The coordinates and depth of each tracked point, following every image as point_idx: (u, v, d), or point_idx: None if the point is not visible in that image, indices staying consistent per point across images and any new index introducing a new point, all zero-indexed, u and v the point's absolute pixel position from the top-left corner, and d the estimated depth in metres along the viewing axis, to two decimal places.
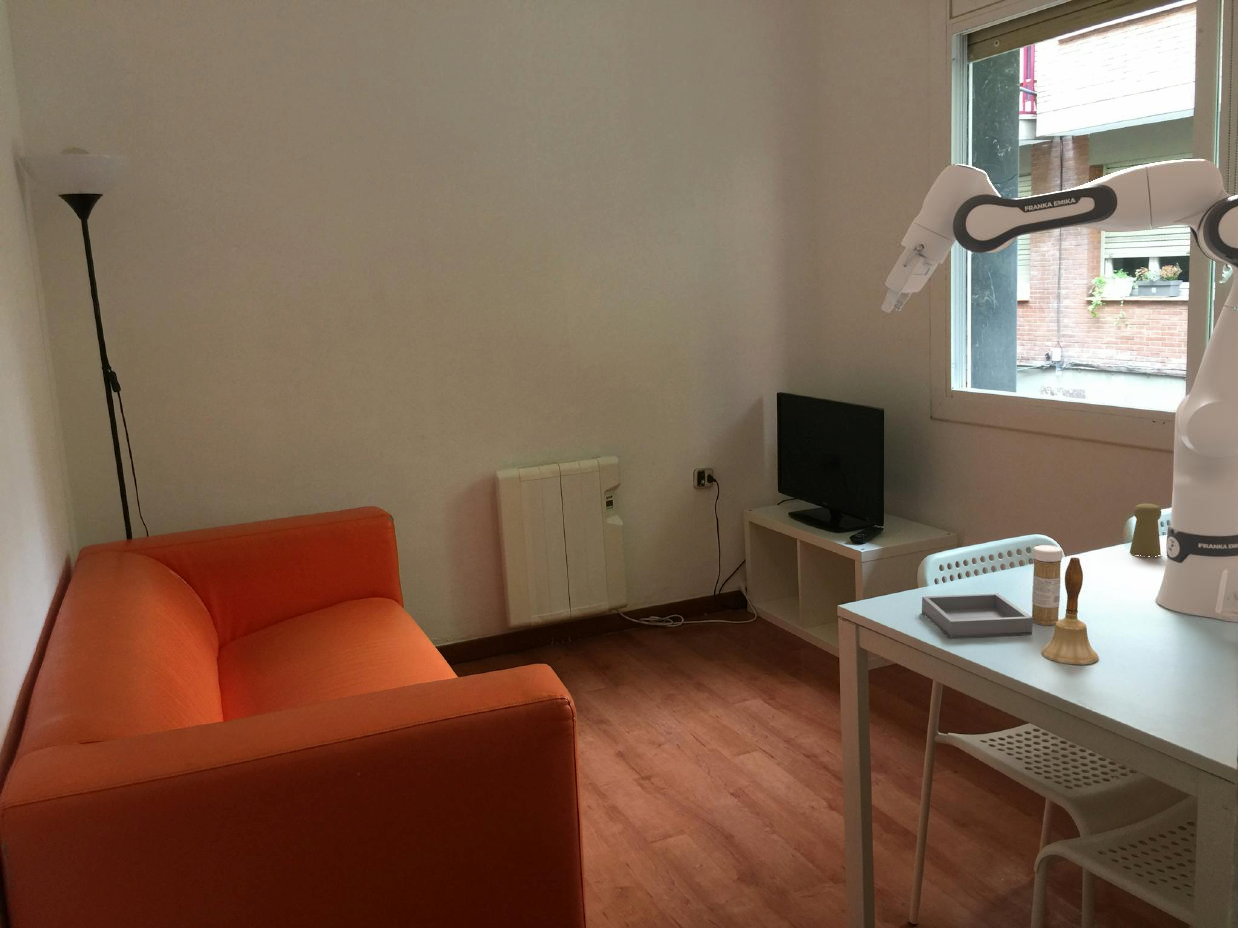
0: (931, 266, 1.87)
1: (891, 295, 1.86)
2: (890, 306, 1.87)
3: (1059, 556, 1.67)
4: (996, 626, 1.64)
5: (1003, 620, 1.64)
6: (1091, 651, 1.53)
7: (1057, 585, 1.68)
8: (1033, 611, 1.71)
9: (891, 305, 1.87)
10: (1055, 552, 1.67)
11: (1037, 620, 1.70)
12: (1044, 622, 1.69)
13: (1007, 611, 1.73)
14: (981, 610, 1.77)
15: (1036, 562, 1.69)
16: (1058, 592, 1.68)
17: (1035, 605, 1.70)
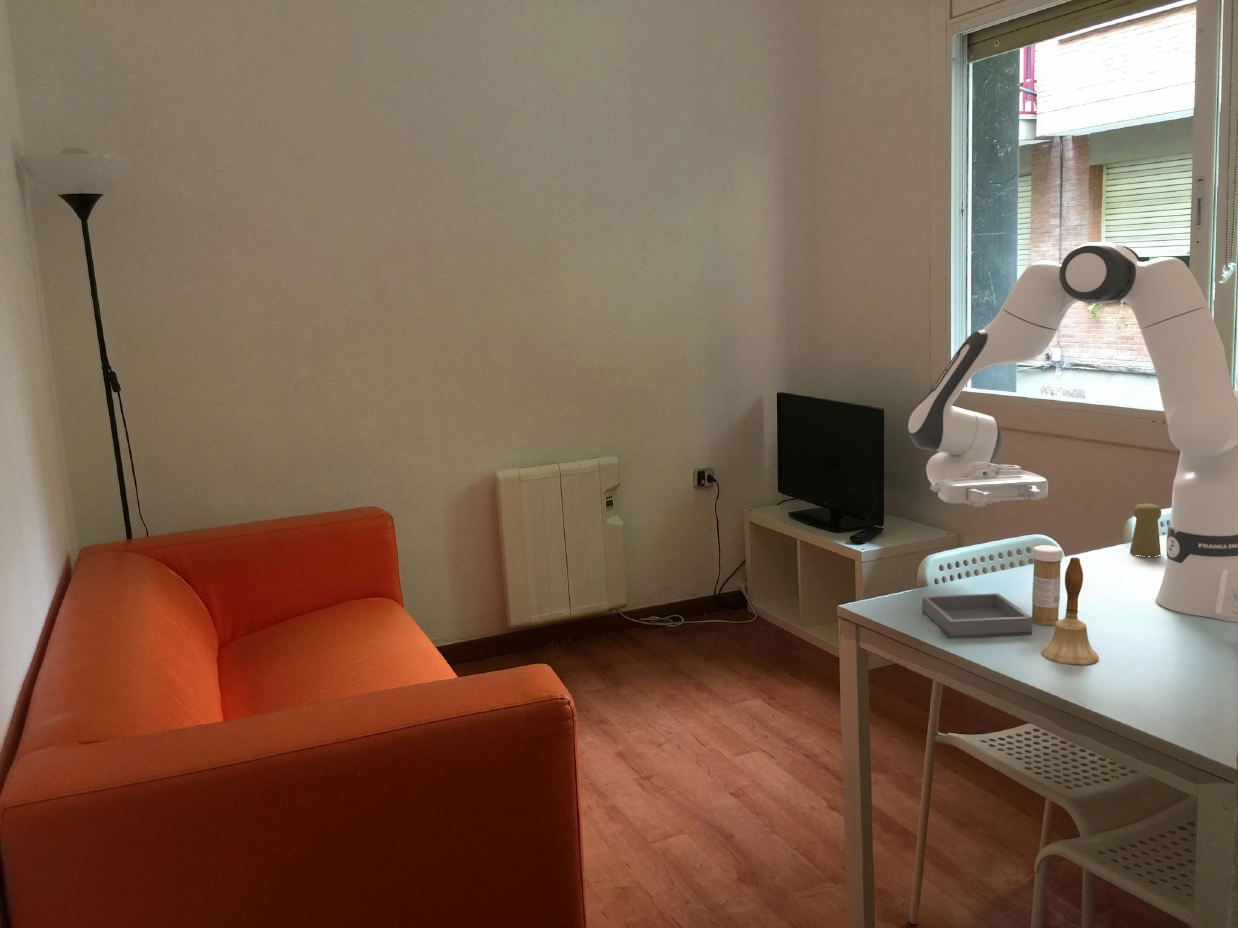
0: (980, 471, 1.90)
1: (971, 495, 1.82)
2: (981, 494, 1.80)
3: (1059, 556, 1.67)
4: (996, 626, 1.64)
5: (1003, 620, 1.64)
6: (1091, 651, 1.53)
7: (1057, 585, 1.68)
8: (1033, 611, 1.71)
9: (980, 493, 1.80)
10: (1055, 552, 1.67)
11: (1037, 620, 1.70)
12: (1044, 622, 1.69)
13: (1007, 611, 1.73)
14: (981, 610, 1.77)
15: (1036, 562, 1.69)
16: (1058, 592, 1.68)
17: (1035, 605, 1.70)
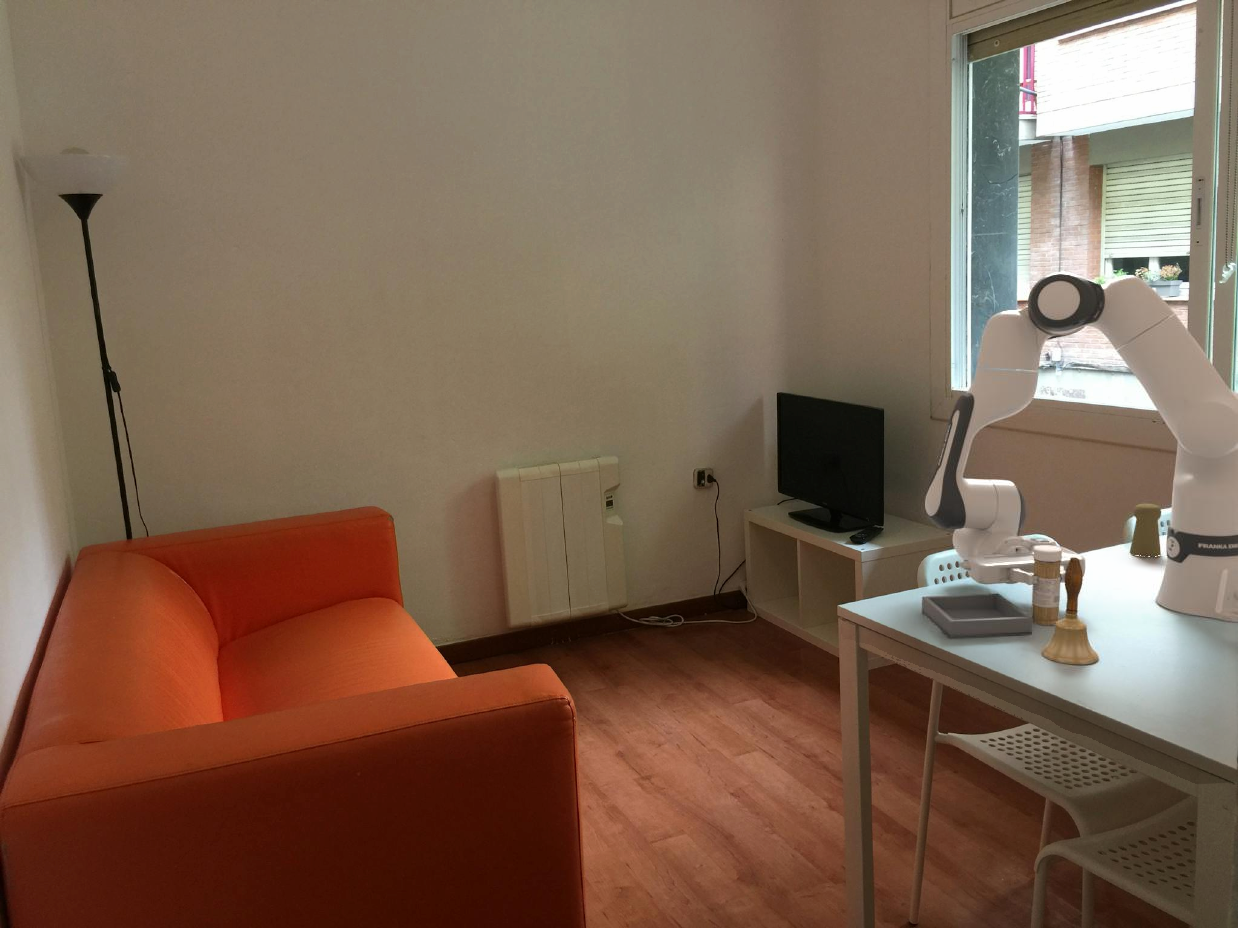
0: (1012, 547, 1.79)
1: (1014, 576, 1.72)
2: (1025, 575, 1.70)
3: (1059, 556, 1.67)
4: (996, 626, 1.64)
5: (1003, 620, 1.64)
6: (1091, 651, 1.53)
7: (1057, 585, 1.68)
8: (1033, 611, 1.71)
9: (1025, 574, 1.70)
10: (1055, 552, 1.67)
11: (1037, 620, 1.70)
12: (1044, 622, 1.69)
13: (1007, 611, 1.73)
14: (981, 610, 1.77)
15: (1036, 562, 1.69)
16: (1058, 592, 1.68)
17: (1035, 605, 1.70)
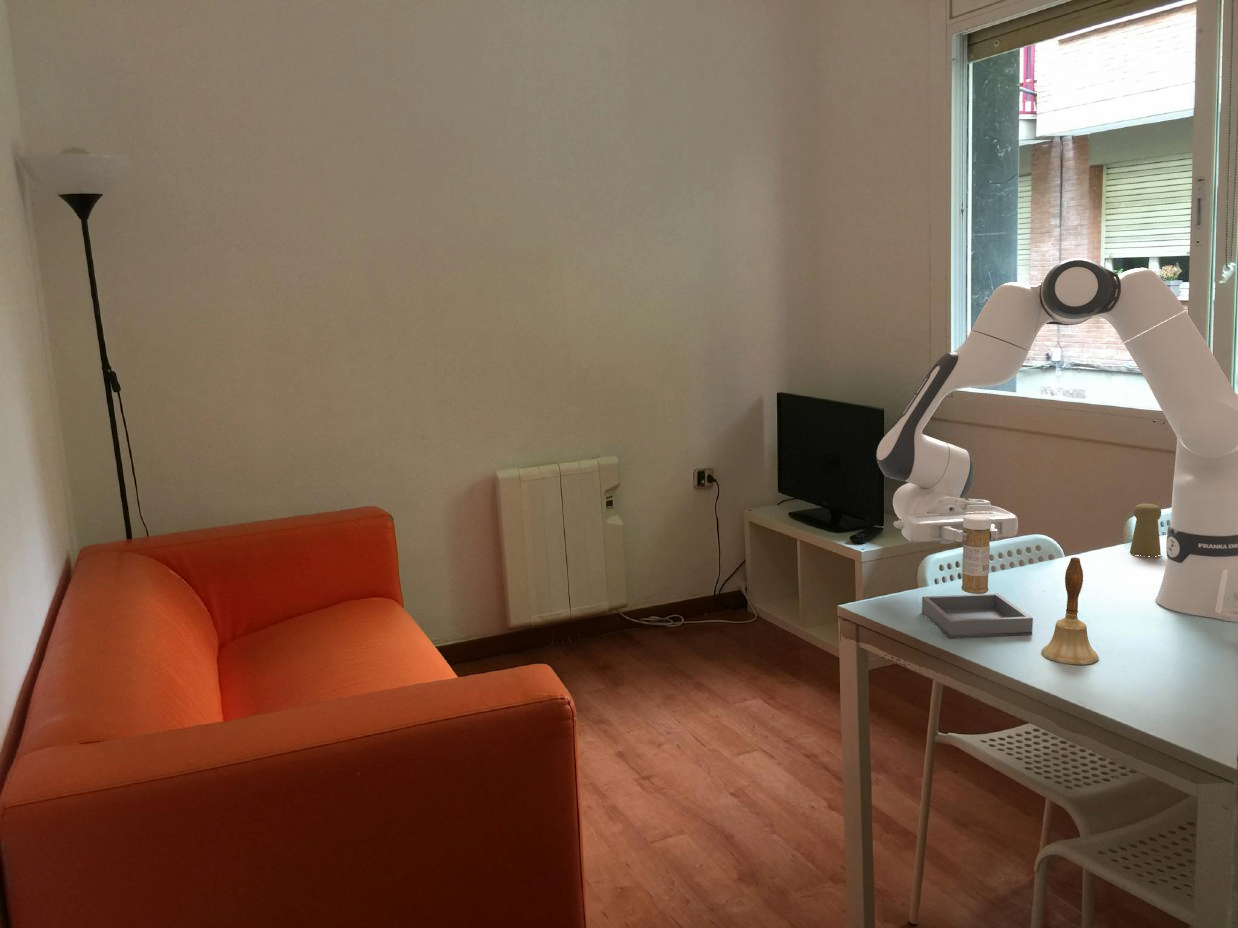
0: (946, 506, 1.78)
1: (945, 534, 1.71)
2: (956, 532, 1.69)
3: (988, 525, 1.67)
4: (996, 626, 1.64)
5: (1003, 620, 1.64)
6: (1091, 651, 1.53)
7: (986, 554, 1.68)
8: (963, 580, 1.71)
9: (955, 531, 1.69)
10: (983, 520, 1.66)
11: (966, 589, 1.70)
12: (973, 591, 1.69)
13: (1007, 611, 1.73)
14: (981, 610, 1.77)
15: (965, 530, 1.69)
16: (987, 561, 1.68)
17: (964, 573, 1.70)
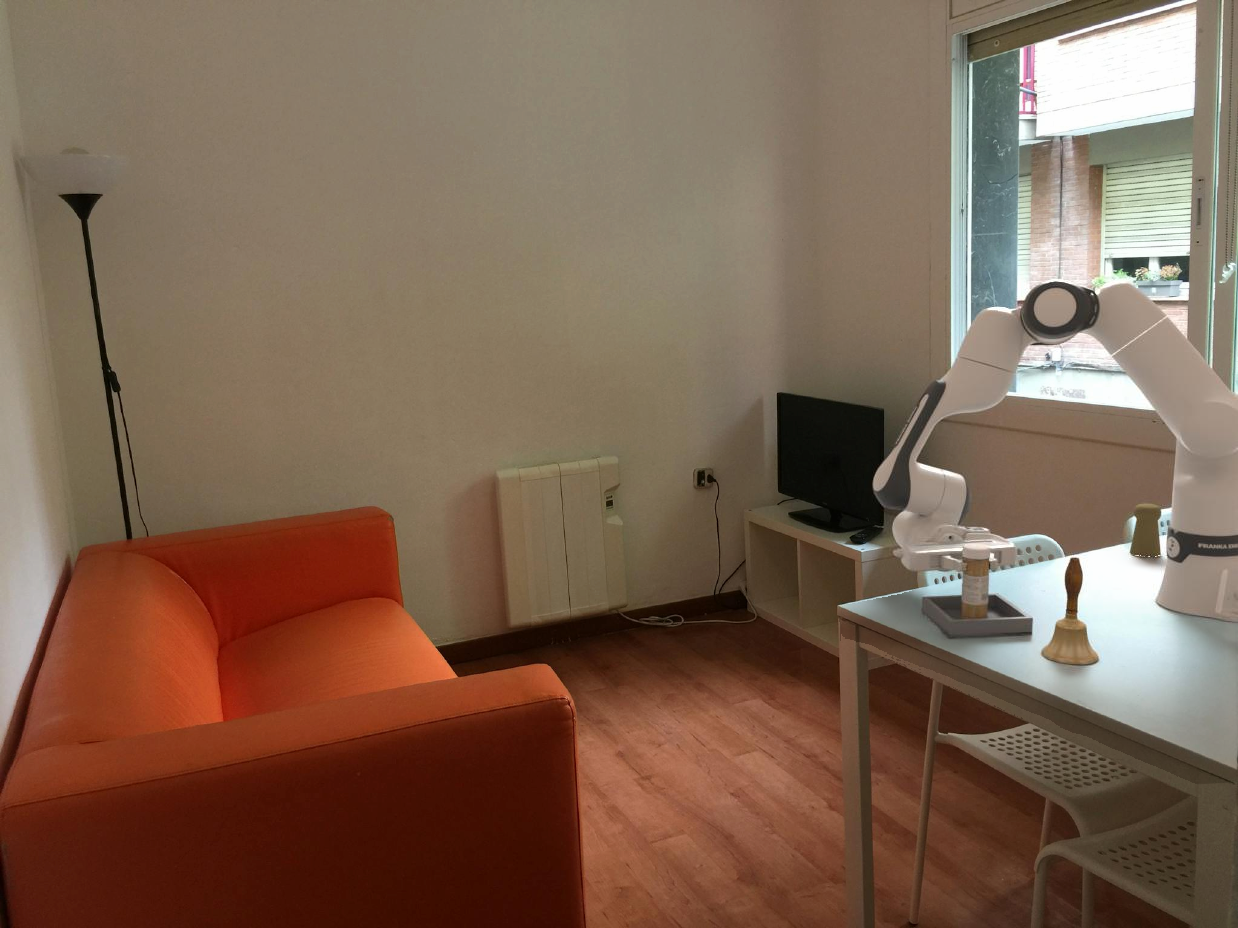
0: (945, 535, 1.79)
1: (945, 563, 1.72)
2: (955, 562, 1.70)
3: (987, 554, 1.68)
4: (996, 626, 1.64)
5: (1003, 620, 1.64)
6: (1091, 651, 1.53)
7: (985, 583, 1.69)
8: (962, 608, 1.71)
9: (954, 561, 1.70)
10: (982, 550, 1.67)
11: (966, 617, 1.70)
12: None
13: (1007, 611, 1.73)
14: None
15: (964, 560, 1.69)
16: (986, 590, 1.69)
17: (964, 602, 1.70)
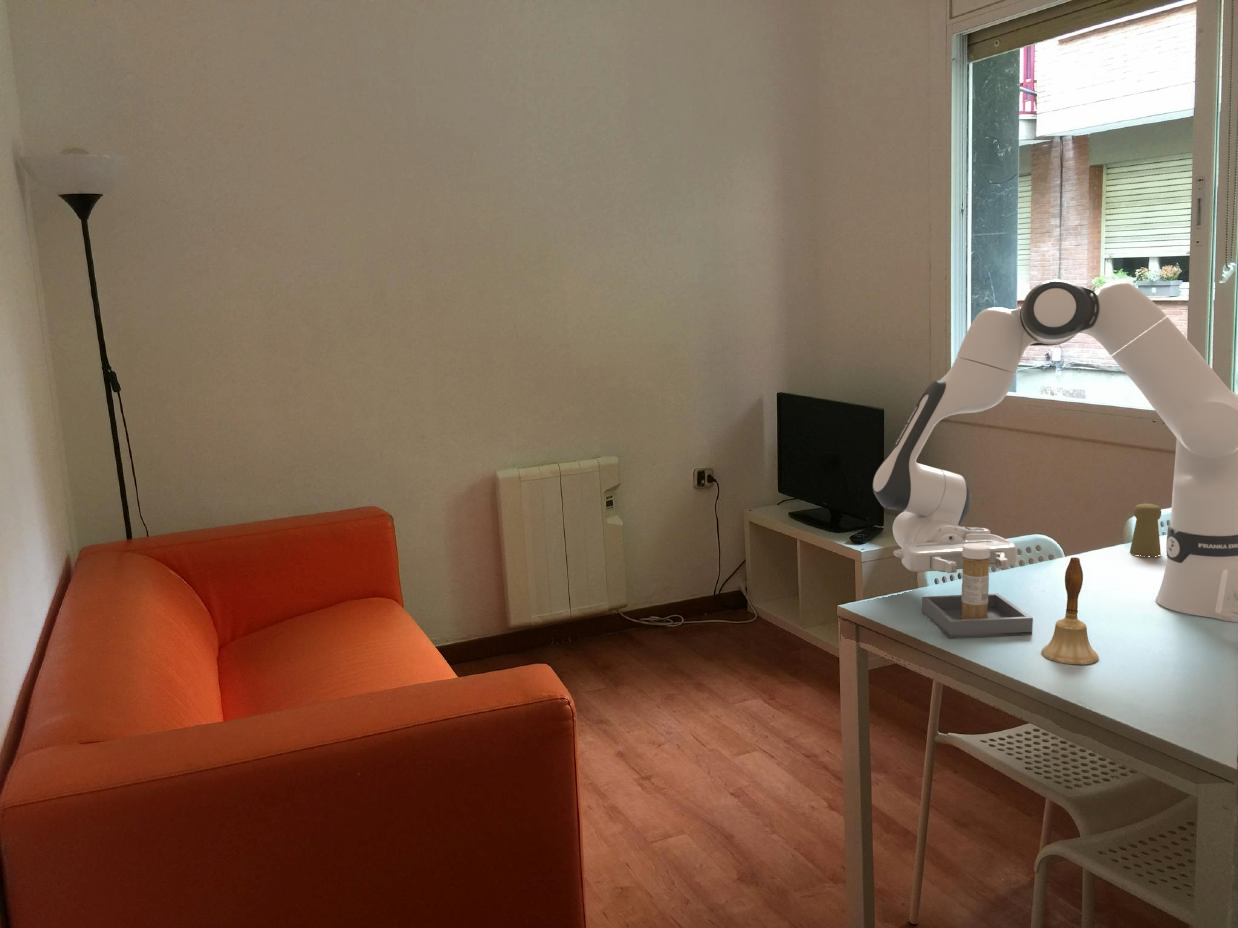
0: (946, 535, 1.79)
1: (935, 564, 1.72)
2: (945, 563, 1.70)
3: (987, 554, 1.68)
4: (996, 626, 1.64)
5: (1003, 620, 1.64)
6: (1091, 651, 1.53)
7: (985, 583, 1.69)
8: (962, 608, 1.71)
9: (944, 562, 1.70)
10: (982, 550, 1.67)
11: (966, 617, 1.70)
12: None
13: (1007, 611, 1.73)
14: None
15: (964, 560, 1.69)
16: (986, 590, 1.69)
17: (964, 602, 1.71)
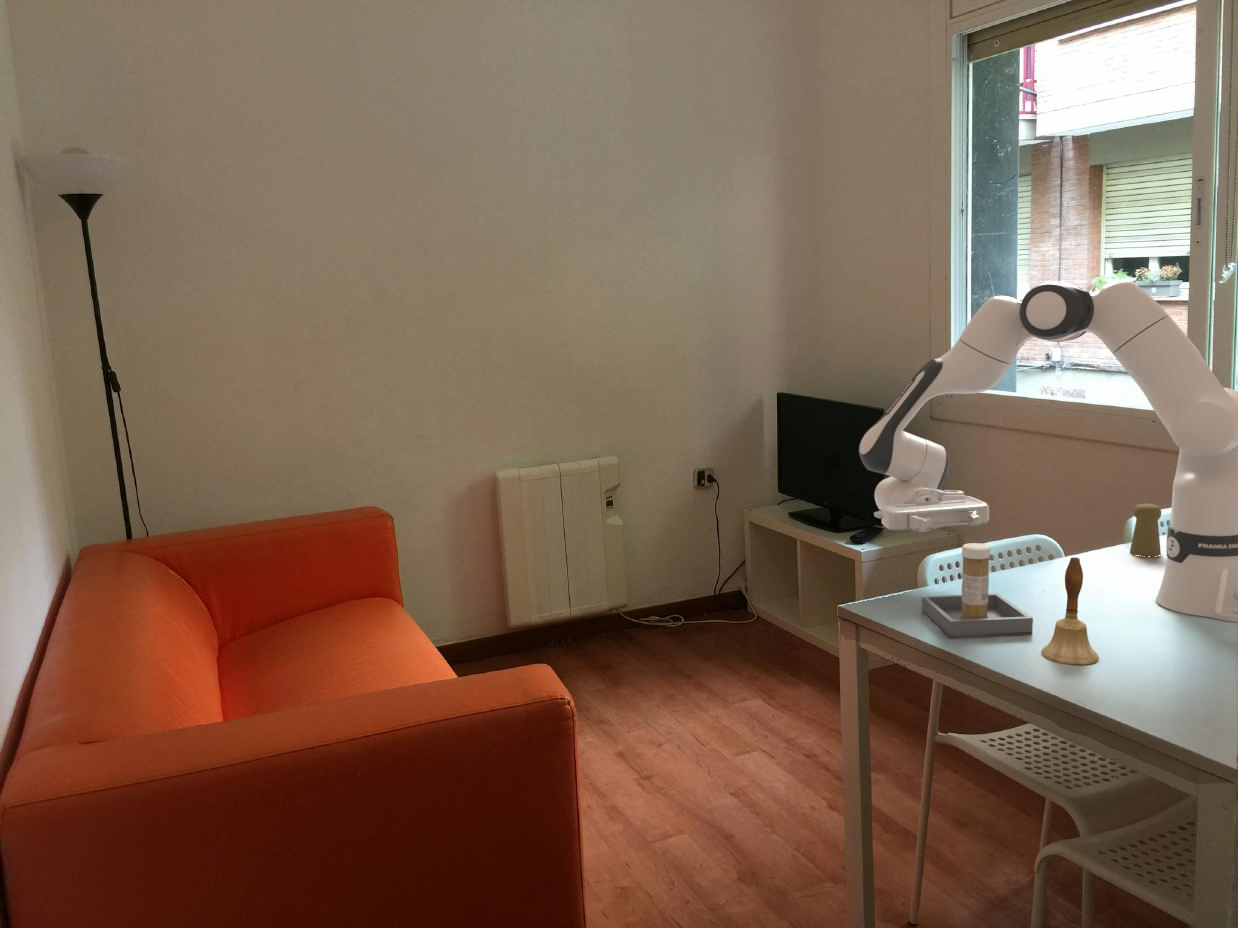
0: (922, 497, 1.92)
1: (912, 522, 1.84)
2: (921, 520, 1.82)
3: (987, 554, 1.68)
4: (996, 626, 1.64)
5: (1003, 620, 1.64)
6: (1091, 651, 1.53)
7: (985, 583, 1.69)
8: (962, 608, 1.71)
9: (920, 520, 1.82)
10: (982, 550, 1.67)
11: (966, 617, 1.70)
12: None
13: (1007, 611, 1.73)
14: None
15: (964, 560, 1.69)
16: (986, 590, 1.69)
17: (964, 602, 1.71)
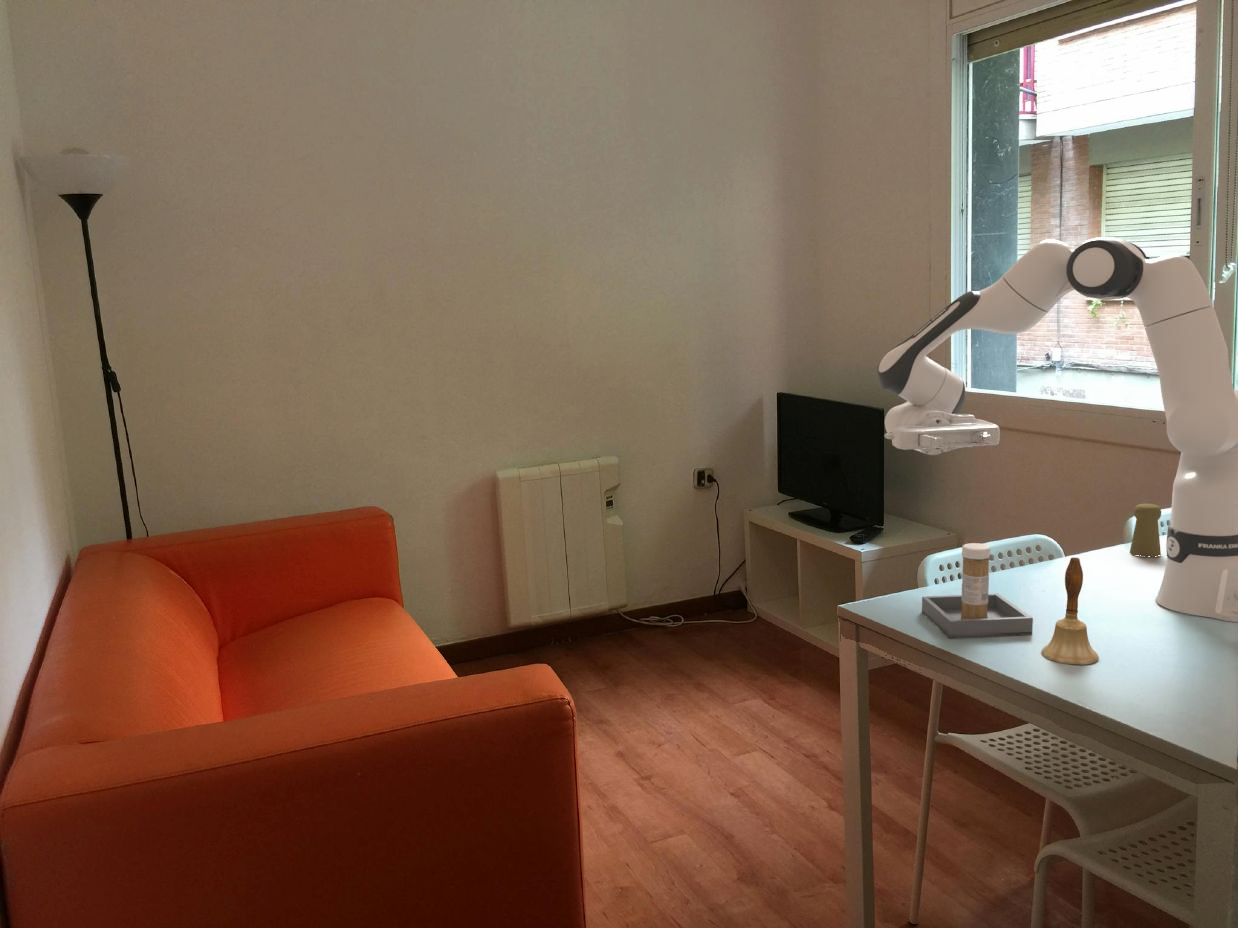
0: (933, 419, 1.92)
1: (922, 441, 1.84)
2: (932, 439, 1.82)
3: (987, 554, 1.68)
4: (996, 626, 1.64)
5: (1003, 620, 1.64)
6: (1091, 651, 1.53)
7: (985, 583, 1.69)
8: (962, 608, 1.71)
9: (931, 438, 1.82)
10: (982, 550, 1.67)
11: (966, 617, 1.70)
12: None
13: (1007, 611, 1.73)
14: None
15: (964, 560, 1.69)
16: (986, 590, 1.69)
17: (964, 602, 1.71)
